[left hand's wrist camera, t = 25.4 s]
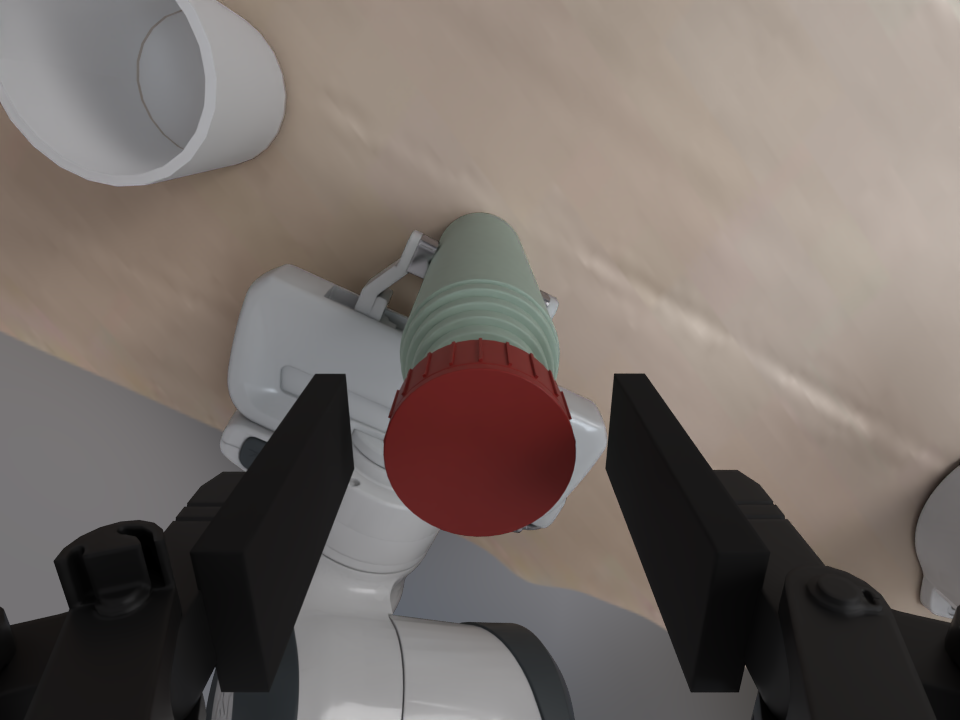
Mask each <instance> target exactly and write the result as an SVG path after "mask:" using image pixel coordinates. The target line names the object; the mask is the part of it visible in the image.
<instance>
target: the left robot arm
mask: <svg viewBox="0 0 960 720" xmlns="http://www.w3.org/2000/svg"><path fill="white" fill-rule="evenodd" d="M353 471H354V458H353V447H352V436H351V425H350V415H349V404H348V393H347V382H346V374H315V375H314V376H313V378H312V379H311V380H310V382H309V383H308V385H307V386H306V387H305V389H304V390H303V392H302V393H301V395H300V396H299V397H298V399H297V400H296V402H295V403H294V404H293V406H292V407H291V409H290V410H289V412H288V413H287V414H286V416H285V417H284V419H283V420H282V422H281V423H280V424H279V426H278V427H277V429H276V430H275V431H274V433H273V434H272V436H271V437H270V439H269V440H268V441H267V443H266V444H265V446H264V447H263V448H262V450H261V451H260V453H259V454H258V456H257V457H256V458H255V460H254V461H253V463H252V464H251V466H250V467H249V468H248V470H247V471H246V472H222V473H220V474H219V475H217V476H216V477H214V478H213V479H211V480H210V481H208V482H207V483H205V484H204V485H202V486H201V487H200V488H199V489H198V491H197V492H196V493H195V494H194V496H193V497H192V498H191V499H190V501H189V502H188V503H187V507H184V508H183V509H182V511H181V512H180V513H179V514H178V516H177V517H176V521H173V522H172V523H171V524H170V525H169V527H168V528H167V529H166V530H165V532H164V533H163V529H162V528H160V527H159V526H158V525H156V524H155V523H152V522H147V521H141V520H134V521H122V522H118V523H114V524H110V525H107V526H103V527H100V528H98V529H96V530H93V531H91V532H89V533H87V534H85V535H83V536H80V537H79V538H78V539H76V540H75V541H73V542H72V543H71V544H69V545H68V546H66V547H65V548H64V549H63V550H62V551H61V552H60V554H59V555H58V556H57V557H56V559H55V560H54V564H55V567H56V570H57V573H58V576H59V579H60V582H61V585H62V588H63V591H64V594H65V597H66V600H67V603H68V606H69V612H65V613H62V614H58V615H54V616H49V617H45V618H40V619H36V620H32V621H27V622H23V623H18V624H14V625H10V624H9V622H8V619H7V616H6V614H5V611H4V609H3V608H1V607H0V720H206V708H205V702H204V697H203V693H202V692H203V690H204V688H205V686H206V684H207V682H208V680H209V678H210V676H211V674H212V672H213V670H214V668H215V667H216V672H217V676H218V681H219V685H220V690H221V692H269V691H270V689H271V686H272V683H273V681H274V678H275V676H276V673H277V670H278V668H279V665H280V662H281V660H282V657H283V655H284V652H285V649H286V647H287V644H288V641H289V639H290V636H291V634H292V631H293V628H294V626H295V623H296V621H297V618H298V615H299V613H300V610H301V607H302V605H303V602H304V600H305V597H306V594H307V592H308V589H309V586H310V584H311V581H312V579H313V576H314V573H315V571H316V568H317V565H318V563H319V560H320V558H321V555H322V552H323V550H324V547H325V545H326V542H327V539H328V537H329V534H330V531H331V529H332V526H333V524H334V521H335V518H336V516H337V513H338V510H339V508H340V505H341V503H342V500H343V497H344V495H345V492H346V490H347V487H348V484H349V482H350V479H351V476H352V474H353ZM606 471H607V474H608V476H609V479H610V482H611V484H612V487H613V490H614V492H615V495H616V497H617V500H618V503H619V505H620V508H621V510H622V513H623V516H624V518H625V521H626V524H627V526H628V529H629V531H630V534H631V537H632V539H633V542H634V545H635V547H636V550H637V552H638V555H639V558H640V560H641V563H642V566H643V568H644V571H645V573H646V576H647V579H648V581H649V584H650V586H651V589H652V592H653V594H654V597H655V600H656V602H657V605H658V607H659V610H660V613H661V615H662V618H663V621H664V623H665V626H666V628H667V631H668V634H669V636H670V639H671V641H672V644H673V647H674V649H675V652H676V654H677V657H678V660H679V662H680V665H681V668H682V670H683V673H684V676H685V678H686V681H687V683H688V686H689V689H690V691H691V692H739V690H740V685H741V681H742V676H743V672H744V667H745V665H746V667H747V669H748V671H749V673H750V675H751V677H752V679H753V681H754V683H755V685H756V687H757V689H758V693H757V697H756V702H755V706H754V710H753V714H752V718H751V720H960V605H959V606H958V607H957V609H956V611H955V614H954V616H953V619H952V622H951V623H948V622H944V621H940V620H935V619H931V618H926V617H922V616H917V615H913V614H908V613H904V612H900V611H897V610H893V609H891V608H890V607H889V605H888V604H887V602H886V601H885V600H884V598H883V597H882V595H881V594H880V593H878V592H877V591H876V590H875V589H874V588H872V587H871V586H870V585H869V584H867V583H866V582H865V581H863V580H861V579H859V578H857V577H855V576H853V575H851V574H849V573H847V572H845V571H842V570H838V569H835V568H832V567H829V566H825V565H824V564H823V562H822V561H821V560H820V559H819V557H818V556H817V555H816V554H815V552H814V551H813V550H812V549H811V548H810V546H809V545H808V544H807V543H806V541H805V540H804V539H803V538H802V536H801V535H800V534H799V533H798V531H797V530H796V529H795V528H794V527H793V525H792V524H791V523H790V522H789V520H788V519H785V515H784V514H783V513H782V512H781V510H780V509H779V508H778V507H777V506H776V505H773V501H772V499H771V498H770V497H769V496H768V494H767V493H766V492H765V491H764V490H763V488H762V487H761V486H760V485H759V484H758V483H756V482H755V481H753V480H752V479H750V478H749V477H747V476H746V475H744V474H743V473H741V472H740V471H738V470H712V468H711V467H710V466H709V464H708V463H707V461H706V460H705V458H704V457H703V456H702V454H701V453H700V451H699V450H698V448H697V447H696V446H695V444H694V443H693V441H692V440H691V439H690V437H689V436H688V434H687V433H686V431H685V430H684V429H683V427H682V426H681V424H680V423H679V422H678V420H677V419H676V417H675V416H674V414H673V413H672V412H671V410H670V409H669V407H668V406H667V404H666V403H665V402H664V400H663V399H662V397H661V396H660V395H659V393H658V392H657V390H656V389H655V387H654V386H653V385H652V383H651V382H650V380H649V379H648V378H647V376H646V375H645V374H614V382H613V393H612V404H611V415H610V425H609V436H608V447H607V458H606Z"/></svg>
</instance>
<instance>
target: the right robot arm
mask: <svg viewBox="0 0 960 720" xmlns="http://www.w3.org/2000/svg"><path fill="white" fill-rule="evenodd" d="M439 244H440V242H439V241H437V240H435V239H433V238H431V237H429V236H427V235H425V234H423V233H421V232H419V231H417V230H414V231H413V232H412V234H411V236H410V238H409V240H408V242H407V244H406V247H405V249H404V251H403V253H402V256H401V258H400V259H398V260H397V261H395V262H394V263H392V264H391V265H390V266H388V267H387V268H385V269H384V270H382V271H381V272H380V273H378V274H377V275H375V276H374V277H372V278H371V279H370V280H369V281H368V282H367V284H366V285H365V286H364V287H363V289H362V291H361V294H360V295H358V294H356V293H354V292H352V291H350V290H347V289H345V288H343V287H341V286H339V285H336V284H334V283H332V282H330V281H328V280H325V279H323V278H321V277H319V276H317V275H314V274H312V273H310V272H308V271H306V270H304V269H301V268H299V267H297V266H295V265H291V264H285V265H282V266H280V267H277V268H275V269H272V270H270V271H268V272H266V273H264V274H263V275H261V276H260V277H258V278H257V279H256V280H255V281H254V282H253V283H252V285H251V286H250V288H249V289H248V291H247V294H246V296H245V299H244V302H243V305H242V308H241V312H240V315H239V319H238V323H237V326H236V330H235V335H234V339H233V344H232V349H231V354H230V361H229V367H228V390H229V394H230V397H231V400H232V402H233V403H234V405H235V407H236V408H237V410H236V411H235V413H234V414H233V416H232V417H231V419H230V420H229V422H228V424H227V426H226V428H225V429H224V431H223V434H222V436H221V439H220V443H219V447H220V450H221V452H222V454H223V455H224V456H225V457H226V458H227V459H228V460H230V461H231V462H232V463H233V464H235V465H236V466H238V467H239V468H240V469H242V470H243V471H245V472H246V471H247V470H248V468H249V467H250V466H251V464H252V463H253V461H254V460H255V458H256V457H257V456H258V454H259V453H260V451H261V450H262V448H263V447H264V446H265V444H266V443H267V441H268V440H269V439H270V437H271V436H272V434H273V433H274V431H275V430H276V429H277V427H278V426H279V424H280V423H281V422H282V420H283V419H284V417H285V416H286V414H287V413H288V412H289V410H290V409H291V407H292V406H293V404H294V403H295V402H296V400H297V399H298V397H299V396H300V395H301V393H302V392H303V390H304V389H305V387H306V386H307V385H308V383H309V382H310V380H311V379H312V378H313V376H314V375H315V374H346V382H347V393H348V404H349V415H350V425H351V436H352V447H353V458H354V471H353V474H352V476H351V479H350V482H349V484H348V487H347V490H346V492H345V495H344V497H343V500H342V503H341V505H340V508H339V510H338V513H337V516H336V518H335V521H334V524H333V526H332V529H331V531H330V534H329V537H328V539H327V542H326V545H325V547H324V550H323V552H322V555H321V558H320V560H319V563H318V565H317V568H316V571H315V573H314V576H313V579H312V581H311V584H310V586H309V589H308V592H307V594H306V597H305V600H304V602H303V605H302V607H301V610H300V613H299V615H298V618H297V621H296V623H295V626H294V628H293V631H292V634H291V636H290V639H289V641H288V644H287V647H286V649H285V652H284V655H283V657H282V660H281V662H280V665H279V668H278V670H277V673H276V676H275V678H274V681H273V683H272V686H271V689H270V691H269V692H221V690H220V685H219V681H218V676H217V672H216V669H215V673H214V677H213V680H212V684H211V688H210V693H209V697H208V702H207V707H206V720H575V719H574V712H573V707H572V702H571V698H570V695H569V691H568V688H567V685H566V683H565V680H564V678H563V676H562V673H561V671H560V670H559V668H558V666H557V664H556V663H555V661H554V659H553V658H552V656H551V655H550V653H549V652H548V650H547V649H546V648H545V646H544V645H543V644H542V643H541V641H540V640H539V639H538V638H537V637H536V636H535V635H534V634H533V633H532V632H531V631H530V630H528V629H527V628H525V627H523V626H521V625H518V624H514V623H481V622H464V623H452V622H444V621H436V620H428V619H420V618H413V617H404V616H397V615H393V613H394V611H395V609H396V608H397V605H398V603H399V601H400V598H401V595H402V592H403V587H404V581H405V578H406V577H407V575H408V574H410V573H411V572H412V571H413V570H414V569H415V568H416V567H417V566H418V565H419V564H420V563H421V561H422V560H423V558H424V557H425V555H426V554H427V552H428V550H429V548H430V546H431V545H432V543H433V541H434V539H435V537H436V536H437V534H438V532H439V530H440V529H439V528H436V527H434V526H432V525H430V524H428V523H427V522H425V521H423V520H422V519H420V518H419V517H418V516H416V515H415V514H413V513H412V512H411V511H410V510H409V509H408V508H407V507H406V506H405V505H404V504H403V502H402V501H401V500H400V499H399V498H398V496H397V495H396V493H395V491H394V490H393V488H392V486H391V484H390V481H389V479H388V477H387V473H386V469H385V465H384V456H383V450H384V443H383V440H384V437H385V434H386V430H387V427H388V424H389V421H390V418H388V416H389V413H390V410H391V407H392V404H393V401H394V398H395V395H396V392H397V390H400V388H401V386H402V384H403V382H404V381H403V377H402V372H401V363H400V343H401V338H402V334H403V331H404V328H405V326H406V323H407V320H408V318H409V317H407V316H405V315H402V314H400V313H398V312H396V311H394V310H391V309H389V308H387V306H388V303H389V301H390V298H391V296H392V294H393V291H392V289H389V288H388V287H390V286H391V285H392V284H394V283H395V282H397V281H398V280H399V279H401V278H402V277H404V276H405V275H406V274H408V273H411V274H414V275H416V276H418V277H420V278H423V279H424V278H425V275H426V273H427V270H428V268H429V265H430V263H431V260H432V259H433V257H434V255H435V254H436V252H437V249H438V247H439ZM540 292H541V295H542V297H543V300H544V302H545V305H546V307H547V310H548V312H549V315H550V317H551V320H552V318H553V316H554V315H555V313H556V311H557V308H558V305H559V302H558V300H557V298H556V297H554V296H552V295H549V294H548V293H545V292H543V291H541V290H540ZM558 388H559V390H560V392H561V391H563V393H564V396H565V399H566V402H567V405H568V408H569V411H570V414H571V417H572V419H571V420H570V423H571V426H572V430H573V433H574V437H575V440H576V461H575V467H574V471H573V474H572V477H571V480H570V483H569V485H568V487H567V489H566V491H565V492H564V494H563V495H562V496H561V498H560V499H559V501H558V502H557V503H556V504H555V505H554V506H553V507H552V509H550V510H549V511H548V512H547V513H546V514H545V515H543V516H542V517H541V518H539V519H538V520H536V521H535V522H533V523H531V524H529V525H527V526H525V527H523V528H521V529H518V530H515V531H513V532H516V533H520V532H521V531H522V529H525V530H536V529H540V528H546V527H548V526H549V525H550V524H551V523H552V522H553V521H554V520H555V518H556V517H557V515H558V514H559V512H560V510H561V509H562V507H563V506H564V504H565V501H566V499H567V496H568V495H569V494H570V493H571V492H572V491H573V490H574V489H575V487H576V486H577V485H578V484H579V483H580V482H581V480H582V479H583V478H584V477H585V476H586V474H587V473H588V472H589V471H590V469H591V468H592V467H593V465H594V464H595V463H596V461H597V460H598V459H599V457H600V456H601V454H602V453H603V451H604V450H605V448H606V445H607V432H606V427H605V424H604V421H603V418H602V416H601V414H600V412H599V410H598V408H597V406H596V405H595V403H594V402H593V401H591V400H589V399H587V398H585V397H582V396H580V395H578V394H576V393H574V392H571V391H569V390H567V389H565V388H563V387H560V386H558ZM915 548H916V553H917V557H918V559H919V562H920V565H921V567H922V570H923V576H924V577H923V581H922V586H921V592H920V600H921V603H922V604H923V605H924V606H925V607H926V608H927V609H928V610H930V611H931V612H932V613H933V614H935V615H938V616H942V617H946V618H951V619H953V616H954V614H955V611H956V609H957V607H958V606H959V605H960V465H959V466H958V467H957V468H955V469H954V470H953V471H952V472H951V473H950V474H949V475H948V476H946V477H945V479H944V480H943V481H942V482H941V483H940V484H939V485H938V486H937V487H936V489H935V490H934V491H933V493H932V494H931V496H930V497H929V499H928V500H927V502H926V504H925V505H924V507H923V509H922V511H921V514H920V516H919V519H918V523H917V527H916V532H915Z"/></svg>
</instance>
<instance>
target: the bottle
mask: <svg viewBox="0 0 960 720" xmlns="http://www.w3.org/2000/svg"><path fill="white" fill-rule="evenodd" d="M439 242H440V244H439V247H438V249H437V252H436V254H435V255H434V257H433V259H432V260H431V263H430V265H429V268H428V270H427V273H426V275H425V278H424V280H423V283H422V285H421V288H420V290H419V293H418V295H417V298H416V300H415V303H414V305H413V308H412V310H411V313H410V315H409V318H408V320H407V323H406V326H405V328H404V331H403V334H402V338H401V343H400V363H401V372H402V377H403V381H404V380H405V379H406V377H407V374H408V371H409V369H413V368H414V367H415V366H416V365H417V364H418V363H419V362H420V361H421V360H423V359H424V358H425V357H426V356H427V353H429V352H431V353H433V352H434V351H436V350H438V349H440V348H442V347H445V346H447V345H450V344H452V342H453V341H455V343H457V342H461V341H467V340H479V338H482V340H493V341H498V342H503V343H506V342H509V344H510V345H512V346H515V347H517V348H519V349H521V350H523V351H525V352H527V353H529V354H530V353H532V354H533V355H534V358H536V359H537V360H538V361H539V362H540V363H541V364H543V365H544V366H545V368H546V369H547V370H548V371H549V370H551V371H552V374H553V377H554V380H555V381H556V378H557V373H558V365H559V355H560V352H559V342H558V337H557V333H556V330H555V327H554V325H553V322H552V320H551V317H550V315H549V312H548V310H547V307H546V305H545V302H544V300H543V297H542V295H541V292H540V290H539V287H538V285H537V282H536V280H535V277H534V275H533V272H532V270H531V267H530V265H529V262H528V260H527V257H526V255H525V252H524V250H523V247H522V245H521V243H520V240H519V238H518V236H517V234H516V232H515V231H514V229H513V228H512V227H511V226H510V225H509V224H508V223H507V222H505V221H504V220H503V219H501V218H499V217H497V216H495V215H491V214H487V213H471V214H467V215H464V216H462V217H460V218H458V219H456V220H455V221H454V222H452V223H451V224H450V225H449V226H448V227H447V228H446V230H445V231H444V232H443V234H442V236H441V238H440V240H439Z"/></svg>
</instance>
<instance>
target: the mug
mask: <svg viewBox="0 0 960 720" xmlns="http://www.w3.org/2000/svg"><path fill="white" fill-rule="evenodd" d="M286 98H287V94H286V87H285V81H284V74H283V72H282V69H281V67H280V64H279V62H278V59H277V57H276V54H275V52H274V51H273V50H272V48H271V47H270V45H269V44H268V42H267V41H266V39H265V38H264V36H263V35H262V34H261V33H260V32H259V31H258V30H257V29H256V28H254V27H253V26H252V25H251V24H250V23H249V22H248V21H247V20H246V19H244V18H242V17H241V16H239V15H238V14H236V13H235V12H233V11H232V10H230V9H229V8H227V7H226V6H224V5H223V4H221V3H220V2H218V1H217V0H0V102H1V104H2V106H3V108H4V109H5V111H6V113H7V115H8V116H9V118H10V120H11V121H12V122H13V123H14V125H15V126H16V127H17V128H18V129H19V130H20V131H21V133H22V134H23V135H24V136H25V137H26V138H27V140H28V141H29V142H30V143H31V144H32V145H33V146H34V147H35V148H36V149H37V150H39V151H40V152H41V153H43V154H44V155H45V156H47V157H48V158H49V159H50V160H52V161H53V162H54V163H56V164H57V165H58V166H59V167H61V168H64V169H66V170H68V171H70V172H72V173H74V174H76V175H78V176H80V177H82V178H84V179H86V180H89V181H94V182H98V183H103V184H108V185H112V186H137V185H149V184H154V183H158V182H162V181H167V180H171V179H175V178H180V177H184V176H189V175H193V174H197V173H202V172H206V171H210V170H215V169H219V168H223V167H228V166H232V165H237V164H240V163H243V162H246V161H248V160H251V159H254V158H255V157H257V156H258V155H259V154H261V153H262V152H263V151H265V150H266V149H267V148H268V147H269V146H270V144H271V143H272V142H273V140H274V139H275V138H276V136H277V135H278V133H279V131H280V128H281V125H282V122H283V120H284V117H285V109H286Z"/></svg>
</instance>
